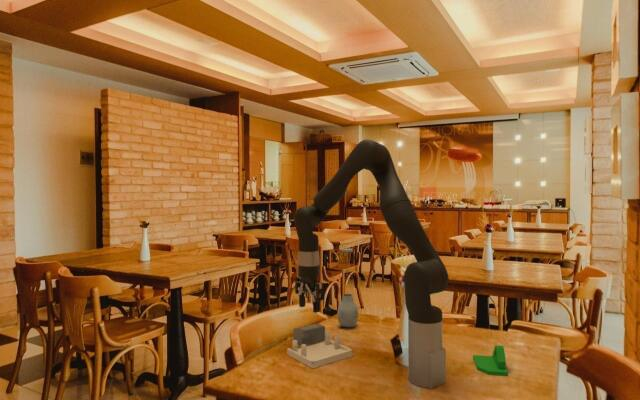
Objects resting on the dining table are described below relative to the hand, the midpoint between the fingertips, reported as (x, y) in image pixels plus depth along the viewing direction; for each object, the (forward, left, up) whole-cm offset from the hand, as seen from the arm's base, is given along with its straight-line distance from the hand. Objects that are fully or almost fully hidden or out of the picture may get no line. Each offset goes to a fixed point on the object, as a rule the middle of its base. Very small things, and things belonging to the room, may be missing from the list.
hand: (309, 309), depth 157 cm
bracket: (-52, -29, -12) cm, 60 cm away
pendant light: (+4, -21, -11) cm, 24 cm away
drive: (0, 0, -11) cm, 11 cm away
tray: (-13, +5, -11) cm, 18 cm away
